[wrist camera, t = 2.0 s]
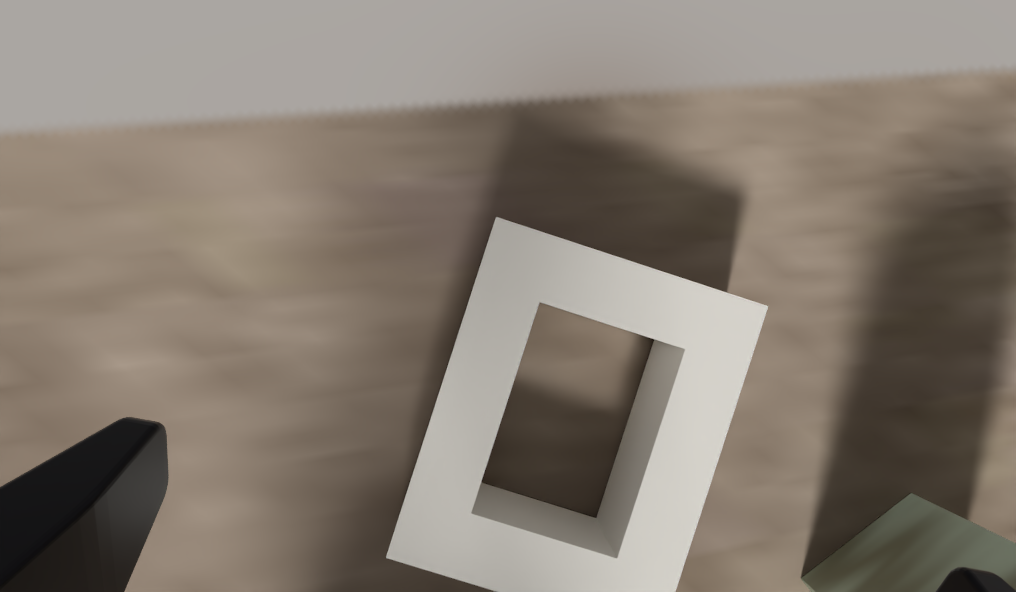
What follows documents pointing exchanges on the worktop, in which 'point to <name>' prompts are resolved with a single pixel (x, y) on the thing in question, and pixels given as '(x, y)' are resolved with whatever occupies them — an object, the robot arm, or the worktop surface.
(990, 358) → the worktop surface
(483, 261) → the white rectangular frame
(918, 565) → the slat
